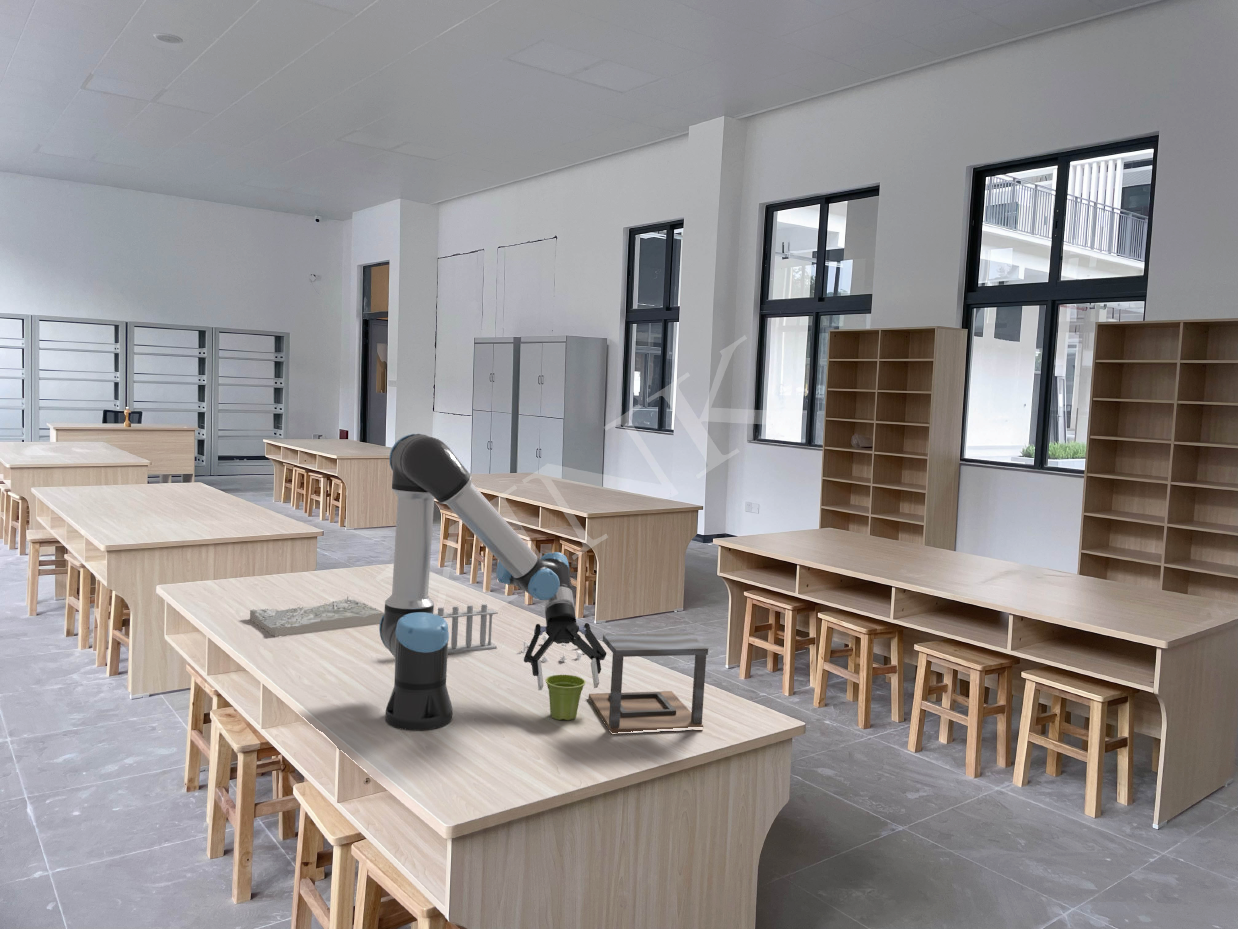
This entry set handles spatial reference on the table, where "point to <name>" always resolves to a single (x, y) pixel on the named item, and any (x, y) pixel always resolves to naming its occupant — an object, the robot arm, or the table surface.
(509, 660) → the table surface
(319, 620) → the topographic model
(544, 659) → the game piece set
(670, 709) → the roofed stand
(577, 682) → the plant pot
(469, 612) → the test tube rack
